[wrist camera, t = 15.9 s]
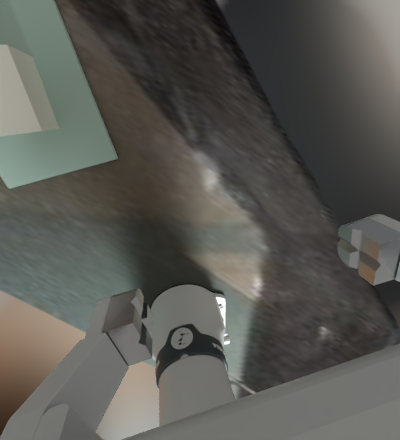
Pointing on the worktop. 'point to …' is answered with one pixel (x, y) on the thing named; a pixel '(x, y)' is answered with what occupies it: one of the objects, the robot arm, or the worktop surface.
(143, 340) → the robot arm
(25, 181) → the mat
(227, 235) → the worktop surface
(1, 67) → the card box
